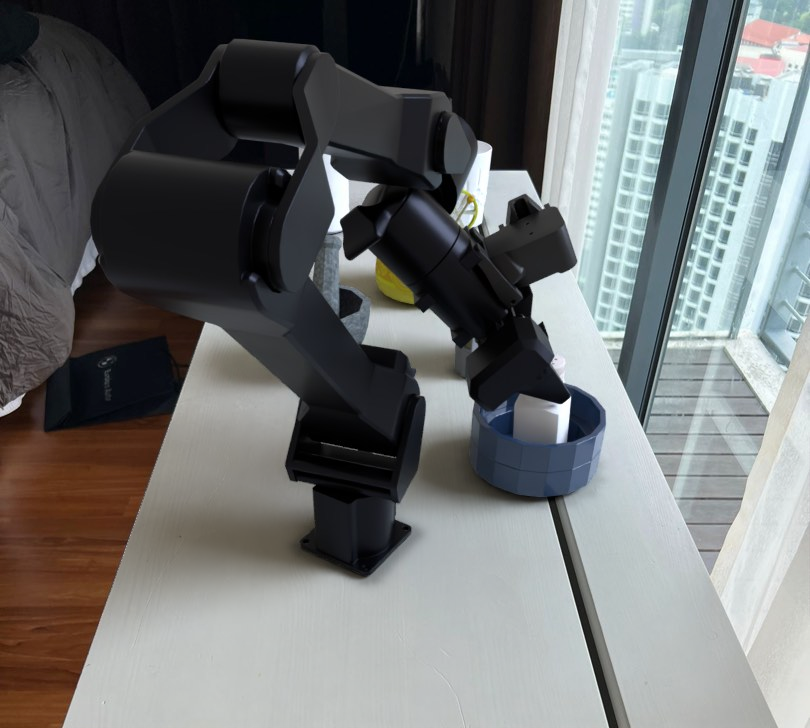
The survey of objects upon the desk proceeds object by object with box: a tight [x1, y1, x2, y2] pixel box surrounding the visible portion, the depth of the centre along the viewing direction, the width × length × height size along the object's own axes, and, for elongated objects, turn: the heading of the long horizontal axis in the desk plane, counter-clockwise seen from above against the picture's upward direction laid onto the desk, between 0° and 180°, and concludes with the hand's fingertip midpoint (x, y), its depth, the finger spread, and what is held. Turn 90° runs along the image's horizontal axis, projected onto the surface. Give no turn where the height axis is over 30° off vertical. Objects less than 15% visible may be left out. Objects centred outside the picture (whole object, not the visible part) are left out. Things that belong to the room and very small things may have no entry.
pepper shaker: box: [513, 352, 571, 444], centre depth 70 cm, size 4×4×10 cm
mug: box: [374, 190, 478, 305], centre depth 97 cm, size 13×11×12 cm
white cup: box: [450, 140, 493, 229], centre depth 117 cm, size 8×8×10 cm
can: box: [298, 147, 350, 235], centre depth 113 cm, size 6×6×12 cm
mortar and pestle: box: [312, 234, 371, 344], centre depth 83 cm, size 11×9×12 cm
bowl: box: [468, 382, 607, 498], centre depth 72 cm, size 11×11×6 cm
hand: (561, 387), depth 69 cm, fingers open, 4 cm apart
